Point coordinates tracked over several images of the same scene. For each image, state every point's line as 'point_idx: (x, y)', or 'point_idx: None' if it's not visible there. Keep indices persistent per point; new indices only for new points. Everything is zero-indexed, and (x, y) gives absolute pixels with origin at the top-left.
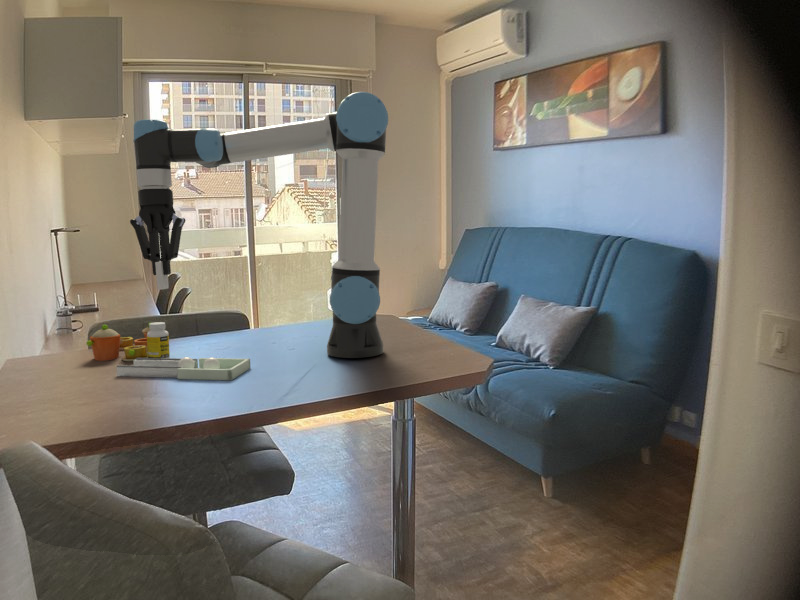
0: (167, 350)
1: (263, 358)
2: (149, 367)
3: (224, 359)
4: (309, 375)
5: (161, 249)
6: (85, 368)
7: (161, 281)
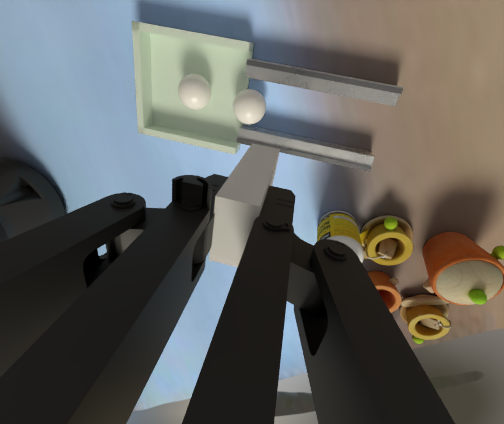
0: (318, 229)
1: (155, 202)
2: (320, 73)
3: (184, 136)
4: (29, 59)
5: (165, 251)
6: (484, 173)
7: (250, 155)
